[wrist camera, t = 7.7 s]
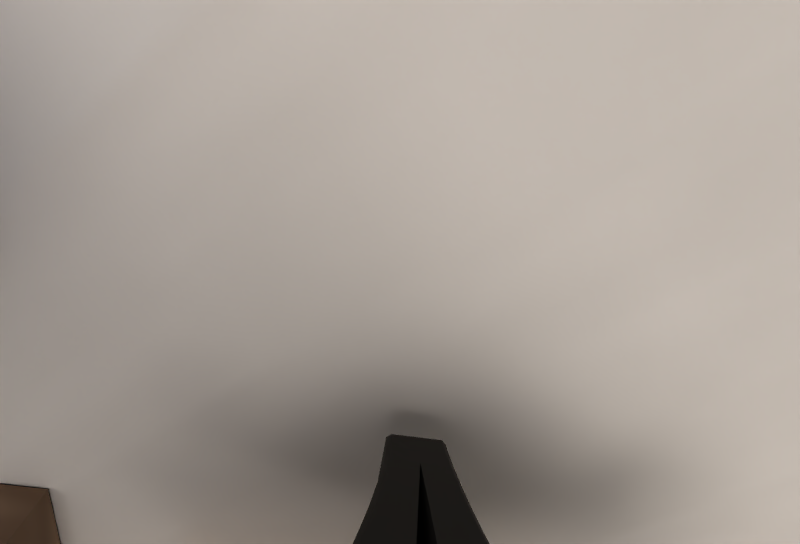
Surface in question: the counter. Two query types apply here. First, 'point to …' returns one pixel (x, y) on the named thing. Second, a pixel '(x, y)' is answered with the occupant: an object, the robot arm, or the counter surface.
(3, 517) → the tray
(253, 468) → the counter surface
